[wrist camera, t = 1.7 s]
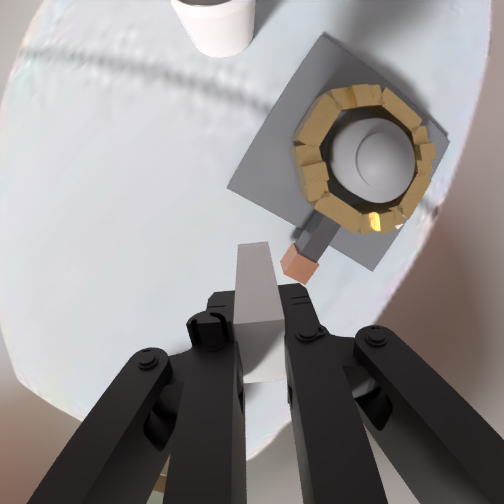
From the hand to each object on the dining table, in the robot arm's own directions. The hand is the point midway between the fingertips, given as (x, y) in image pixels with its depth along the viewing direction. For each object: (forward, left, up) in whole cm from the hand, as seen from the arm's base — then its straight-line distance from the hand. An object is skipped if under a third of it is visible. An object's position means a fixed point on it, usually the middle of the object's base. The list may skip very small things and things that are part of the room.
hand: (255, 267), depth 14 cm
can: (-15, -12, -16) cm, 25 cm away
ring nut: (-7, +7, -14) cm, 17 cm away
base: (-10, +7, -16) cm, 20 cm away
